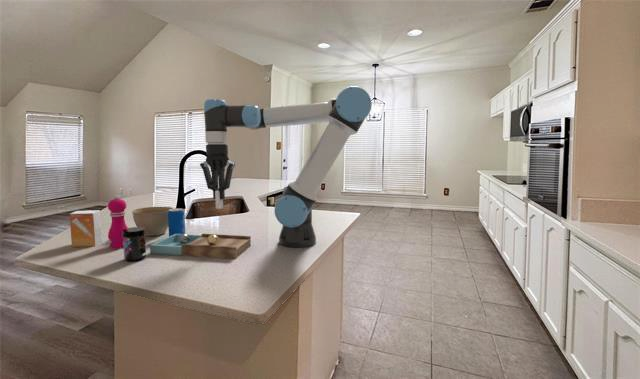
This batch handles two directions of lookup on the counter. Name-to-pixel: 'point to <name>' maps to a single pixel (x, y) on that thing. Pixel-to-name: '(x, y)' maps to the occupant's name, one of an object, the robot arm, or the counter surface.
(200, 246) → the walnut runway
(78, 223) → the small box
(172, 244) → the tray
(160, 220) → the planter bowl
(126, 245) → the supplement container
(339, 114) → the robot arm
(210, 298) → the counter surface
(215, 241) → the brass ball
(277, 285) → the counter surface
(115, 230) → the pink tall rounded piece
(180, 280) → the counter surface
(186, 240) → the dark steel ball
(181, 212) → the beverage can
